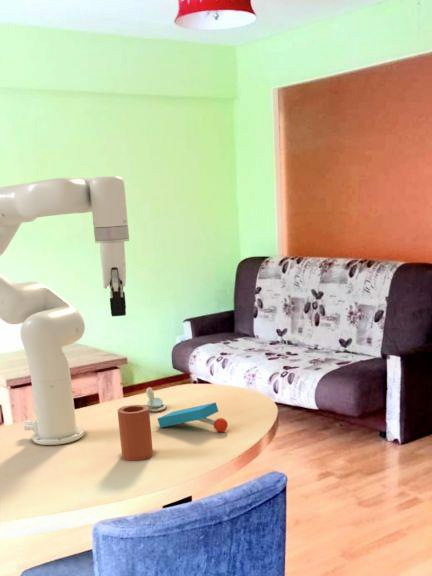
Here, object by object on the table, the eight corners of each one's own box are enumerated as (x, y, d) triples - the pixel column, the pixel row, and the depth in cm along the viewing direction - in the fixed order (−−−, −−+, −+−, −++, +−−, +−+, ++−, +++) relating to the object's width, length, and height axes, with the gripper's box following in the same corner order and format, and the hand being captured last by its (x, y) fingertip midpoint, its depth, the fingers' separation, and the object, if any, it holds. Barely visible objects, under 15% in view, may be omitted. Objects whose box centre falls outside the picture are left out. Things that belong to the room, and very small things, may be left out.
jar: (117, 460, 166) (112, 413, 163) (128, 449, 172) (124, 404, 169) (147, 460, 164) (142, 413, 161) (156, 450, 170) (152, 404, 167)
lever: (165, 444, 188) (220, 434, 177) (157, 418, 187) (212, 407, 177) (180, 436, 194) (235, 426, 183) (173, 411, 193) (227, 399, 182)
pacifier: (170, 406, 207) (150, 405, 209) (169, 384, 205) (149, 383, 207) (160, 413, 200) (140, 412, 202) (159, 391, 198) (138, 390, 200)
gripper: (96, 234, 170) (103, 308, 175) (92, 238, 153) (101, 319, 158) (128, 232, 171) (135, 306, 175) (128, 235, 154) (136, 317, 159)
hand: (119, 312), depth 167 cm, fingers open, 9 cm apart
